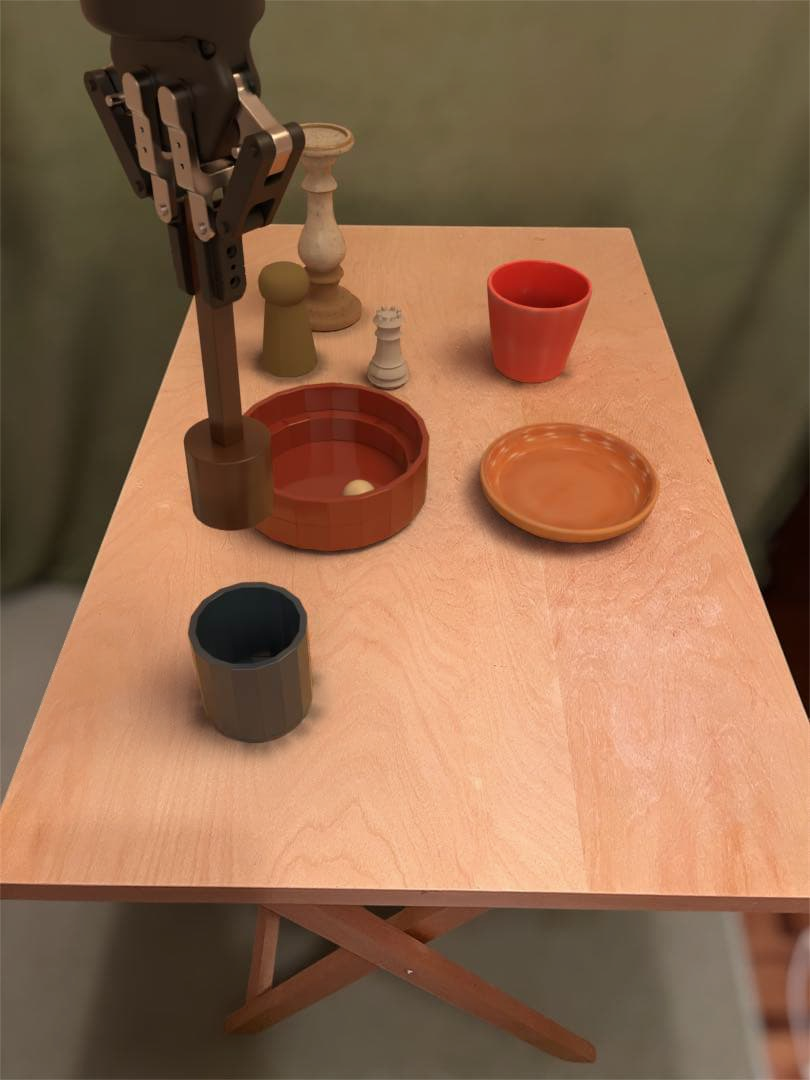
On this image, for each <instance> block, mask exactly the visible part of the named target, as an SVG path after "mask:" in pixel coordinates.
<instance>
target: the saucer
mask: <svg viewBox="0 0 810 1080" xmlns="http://www.w3.org/2000/svg"><path fill="white" fill-rule="evenodd" d="M480 459H481V460H480V462H479V482H480V486H481V487H480V488H481V490H482V492H483V495H484V496H485V498H486V500H487V501H488V503H489V504H490V505H491V506H492V508H493V509H494V510H495V511H496V512H498V514H500V515H501V516H502V517H503V518H505V520H507V521H508V522H510V523H511V524H513V525H514V526H516V527H518V528H519V529H521V530H523V531H526V532H527V533H529V534H532V535H534V536H537V537H540V538H543V539H546V540H550V541H553V542H562V543H571V544H574V543H575V544H580V543H592V542H599V541H600V542H601V541H605V540H609V539H613V538H615V537H618V536H621V535H624V534H626V533H628V532H630V531H632V530H634V529H636V528H637V527H639V526H640V525H641V524H642V523H643V522H644V521H646V520H647V518H648V517H649V516H650V515H651V513H652V512H653V509H654V507H655V505H656V504H657V502H658V499H659V497H660V489H661V488H660V484H661V483H660V480H659V475H658V473H657V470H656V468H655V467H654V465H653V464H652V462H651V461H650V460H649V458H647V456H646V455H645V454H644V453H643V452H642V451H641V450H639V448H637V447H636V446H634V445H633V444H632V443H630V442H629V441H627V440H625V439H624V438H622V437H620V436H618V435H616V434H614V433H611V432H609V431H606V430H603V429H601V428H597V427H594V426H590V425H585V424H580V423H575V422H564V421H563V422H562V421H561V422H559V421H550V422H549V421H548V422H538V423H531V424H526V425H523V426H519V427H517V428H514V429H511V430H509V431H507V432H505V433H503V434H502V435H500V436H499V437H497V438H496V439H494V440H493V441H492V442H491V443H490V444H489V445H488V446H487V448H486V449H485V451H484V453H483V454H482V456H481V458H480Z"/></svg>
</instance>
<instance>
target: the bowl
mask: <svg viewBox="0 0 810 1080" xmlns="http://www.w3.org/2000/svg"><path fill="white" fill-rule="evenodd" d="M242 415H243V416H248V417H251V418H254V419H256V420H258V421H260V422H261V423H263V424H264V425H265V426H266V427H267V428H268V430H269V432H270V435H271V447H272V464H273V480H274V497H275V506H274V509H273V511H272V513H271V515H270V516H269V517H268V518H267V519H266V520H265V521H263V522H262V523H260V524H258V525H256V526H254V528H255V529H257V530H258V531H259V532H261V533H262V534H264V535H265V536H267V537H268V538H269V539H271V540H273V541H277V542H279V543H282V544H285V545H289V546H292V547H294V548H296V549H304V550H305V549H306V550H315V551H325V552H326V551H327V552H335V551H342V550H349V549H357V548H362V547H363V548H365V547H366V546H369V545H372V544H375V543H378V542H380V541H382V540H385V539H388V538H390V537H392V536H394V535H395V534H396V533H398V532H400V531H401V530H402V529H404V528H405V527H406V526H408V525H409V524H410V523H412V522H413V521H414V519H415V518H416V517H417V515H418V513H419V512H420V510H421V509H422V507H423V506H424V504H425V502H426V495H427V491H428V490H427V489H428V481H429V480H428V477H429V476H428V475H429V459H430V440H431V439H430V433H429V431H428V429H427V425H426V423H425V421H424V419H423V417H422V416H421V415H420V414H419V413H418V412H417V411H416V410H415V409H414V408H413V407H412V406H411V405H410V404H409V403H408V402H406V401H404V400H402V399H400V398H398V397H397V396H395V395H393V394H391V393H389V392H387V391H384V390H380V389H378V388H374V387H370V386H367V385H363V384H356V383H343V382H320V383H310V384H309V383H308V384H301V385H297V386H295V387H294V386H293V387H291V388H287V389H284V390H281V391H280V390H279V391H277V392H275V393H272V394H270V395H268V396H266V397H265V398H263V399H261V400H259V401H258V402H255V403H253V404H252V405H251V406H250V407H249V408H248V409H247V410H246V411H245V412H243V413H242ZM354 480H364V481H367V482H368V483H370V484H371V485H372V486H373V487H374V490H371V491H368V492H365V493H362V494H359V495H350V496H342V493H343V490H344V488H345V487H346V485H347V484H348V483H350V482H352V481H354Z"/></svg>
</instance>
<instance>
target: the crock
mask: <svg viewBox="0 0 810 1080" xmlns="http://www.w3.org/2000/svg"><path fill="white" fill-rule="evenodd" d="M308 617H309V616H308V612H307V610H306V608H305V607H304V605H303V602H302V601H301V599H300V598H299V597H297V596H296V595H295V594H293V592H291V591H289V590H288V589H287V588H286V587H284V586H279V585H276V584H272V583H269V582H266V581H243V582H242V581H241V582H237V583H234V584H231V585H227V586H224V587H221V588H219V589H217V590H216V591H214V592H213V593H211V594H210V595H208V596H206V597H205V598H204V599H203V600H201V602H200V603H199V604H198V605H197V607H196V608H195V609H194V611H193V612H192V614H191V616H190V619H189V624H188V630H187V637H188V642H189V646H190V651H191V657H192V660H193V665H194V670H195V675H196V679H197V684H198V689H199V693H200V698H201V703H202V706H203V709H204V712H205V716H206V718H207V720H208V721H209V723H210V724H211V726H212V727H213V728H214V729H215V730H216V731H217V732H219V733H220V734H222V735H223V736H225V737H227V738H229V739H232V740H234V741H238V742H244V743H263V742H268V741H272V740H275V739H278V738H281V737H283V736H285V735H287V734H289V733H290V732H291V731H293V730H294V729H296V728H297V727H298V726H299V725H300V724H301V723H302V722H303V720H305V718H306V716H307V715H308V713H309V711H310V709H311V706H312V703H313V697H314V696H313V695H314V694H313V686H314V685H313V684H314V683H313V672H312V671H313V670H312V658H311V657H312V656H311V644H310V631H309V630H310V629H309V618H308Z"/></svg>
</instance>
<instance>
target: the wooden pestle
mask: <svg viewBox="0 0 810 1080" xmlns="http://www.w3.org/2000/svg"><path fill="white" fill-rule="evenodd" d="M212 198H213V205H214V209H215V208H217V207H220V205H221V202H222V200H223V197H222V196H220V195H218V194H216V193H215V192H213V195H212ZM184 205H185V214H186V223H187V230H188V239H189V248H190V257H191V266H192V275H193V284H194V293H195V295H194V303H195V311H196V320H197V329H198V338H199V345H200V354H201V364H202V372H203V380H204V381H203V382H204V390H205V391H204V392H205V399H206V400H205V401H206V407H207V416H208V417H206V418H204V419H201V420H199V421H198V422H196V423H194V424H193V425H192V426H191V427H189V428H188V429H187V431H186V432H185V434H184V437H183V442H182V443H183V449H184V456H185V465H186V471H187V478H188V486H189V492H190V500H191V501H190V502H191V507H192V512H193V515H194V516H195V518H196V519H197V520H198V521H199V522H200V523H201V524H202V525H204V526H207V527H209V528H211V529H214V530H218V531H226V532H227V531H228V532H235V531H243V530H248V529H251V528H253V527H254V526H256V525H258V524H260V523H262V522H263V521H265V520H266V519H267V518H268V517H269V516H270V515H271V513H272V511H273V509H274V506H275V497H274V480H273V464H272V447H271V435H270V432H269V430H268V428H267V427H266V426H265V425H264V424H263V423H261V422H260V421H258V420H256V419H254V418H251V417H248V416H243V409H242V398H241V396H242V395H241V385H240V374H239V373H240V372H239V362H238V351H237V350H238V349H237V337H236V327H235V326H236V325H235V324H236V323H235V314H234V302H233V303H231V304H229V305H227V306H224V307H222V308H220V309H214V308H213V307H211V306H209V305H207V304H205V303H204V302H203V299H202V293H201V286H200V279H199V271H198V264H197V257H196V250H195V243H194V237H195V236H197V234H196V233H195V230H194V227H193V221H192V215H191V208H190V202H189V196H185V197H184ZM254 528H255V527H254Z"/></svg>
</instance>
